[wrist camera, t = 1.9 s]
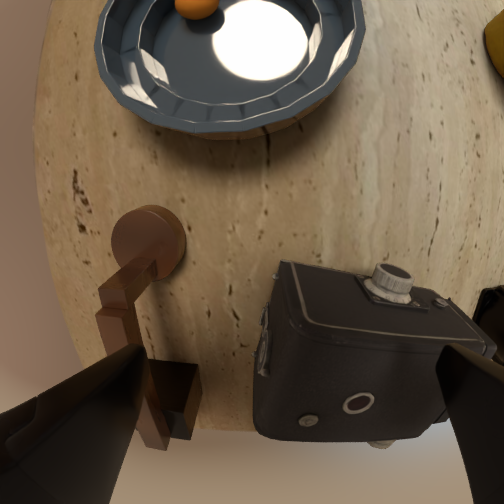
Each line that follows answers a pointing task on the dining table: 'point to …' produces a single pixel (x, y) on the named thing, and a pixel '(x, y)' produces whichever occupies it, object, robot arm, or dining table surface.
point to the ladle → (131, 287)
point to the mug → (496, 41)
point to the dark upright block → (177, 394)
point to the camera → (354, 355)
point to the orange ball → (196, 8)
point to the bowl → (227, 62)
